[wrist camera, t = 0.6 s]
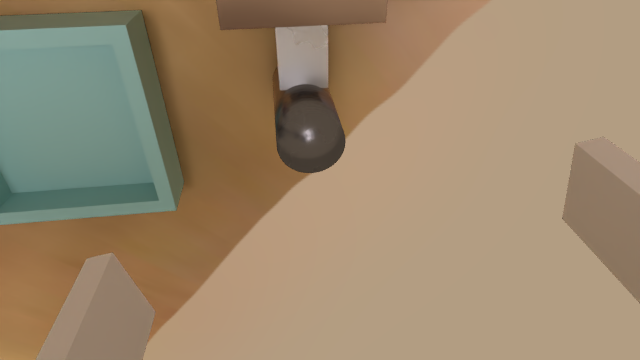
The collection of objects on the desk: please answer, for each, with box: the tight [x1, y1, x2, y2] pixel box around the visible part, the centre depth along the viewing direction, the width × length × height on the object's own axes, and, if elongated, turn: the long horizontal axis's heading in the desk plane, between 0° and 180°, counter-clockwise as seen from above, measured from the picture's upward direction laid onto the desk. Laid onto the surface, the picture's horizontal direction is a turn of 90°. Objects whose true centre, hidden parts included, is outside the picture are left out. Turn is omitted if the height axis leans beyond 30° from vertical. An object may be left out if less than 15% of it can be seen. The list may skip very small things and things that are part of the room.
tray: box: [0, 10, 184, 225], centre depth 27 cm, size 13×13×4 cm
